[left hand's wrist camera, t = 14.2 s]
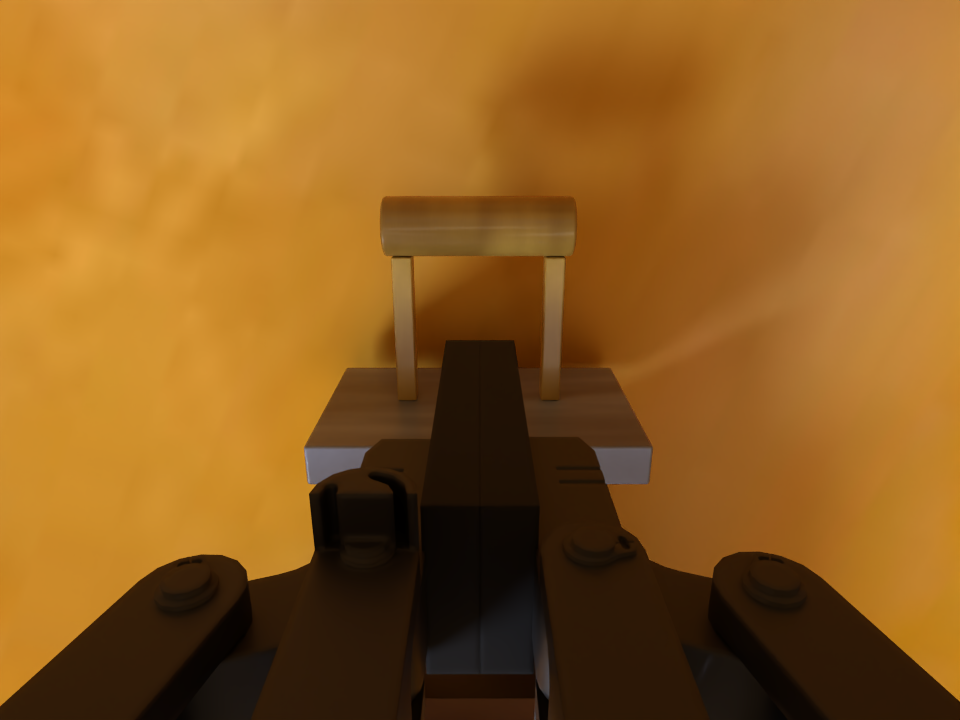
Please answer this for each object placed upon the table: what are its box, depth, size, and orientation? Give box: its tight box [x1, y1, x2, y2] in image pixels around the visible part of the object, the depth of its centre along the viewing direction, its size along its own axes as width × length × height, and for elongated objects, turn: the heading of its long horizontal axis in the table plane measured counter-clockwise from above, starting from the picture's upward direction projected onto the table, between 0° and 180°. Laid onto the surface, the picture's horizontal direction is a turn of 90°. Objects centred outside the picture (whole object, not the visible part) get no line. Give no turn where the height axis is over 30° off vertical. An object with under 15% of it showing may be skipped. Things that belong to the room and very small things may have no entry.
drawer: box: [304, 196, 653, 698], centre depth 22 cm, size 23×10×6 cm, turn 0°
